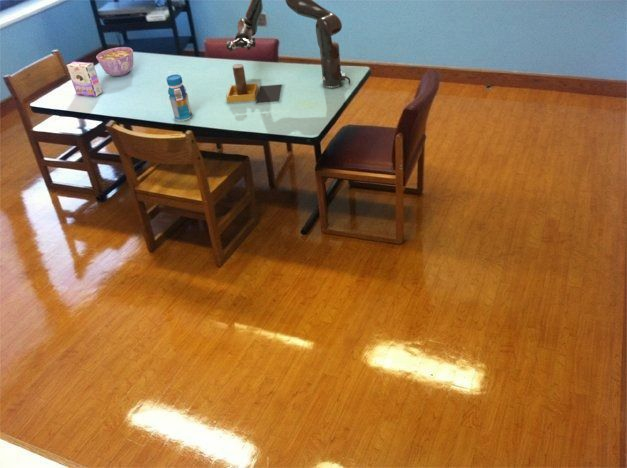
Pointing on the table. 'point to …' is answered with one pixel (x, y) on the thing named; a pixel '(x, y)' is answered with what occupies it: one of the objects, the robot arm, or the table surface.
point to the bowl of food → (116, 60)
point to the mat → (269, 93)
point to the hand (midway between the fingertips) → (239, 48)
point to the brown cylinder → (240, 79)
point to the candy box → (84, 78)
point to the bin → (234, 97)
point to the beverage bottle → (178, 98)
